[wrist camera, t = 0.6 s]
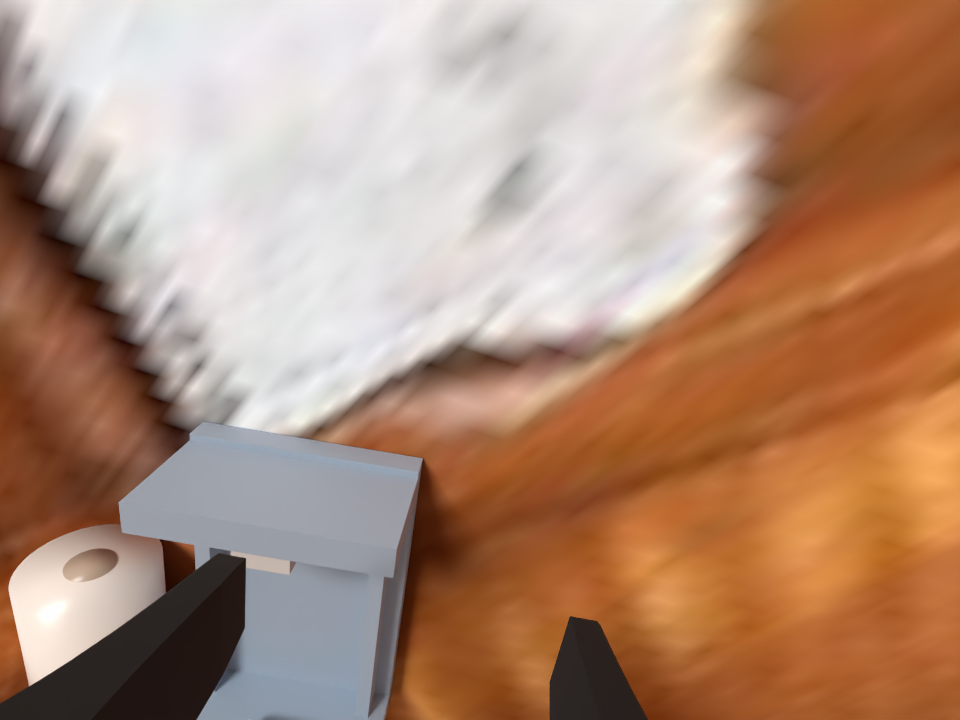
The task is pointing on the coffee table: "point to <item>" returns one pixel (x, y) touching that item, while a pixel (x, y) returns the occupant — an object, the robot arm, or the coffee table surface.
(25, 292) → the coffee table surface
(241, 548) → the holder
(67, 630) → the roll
